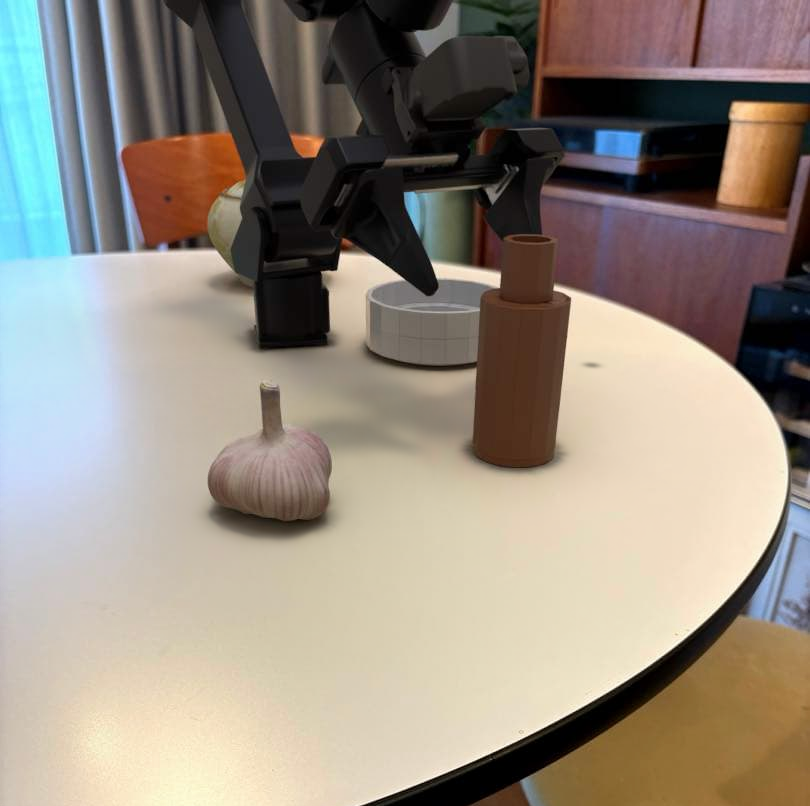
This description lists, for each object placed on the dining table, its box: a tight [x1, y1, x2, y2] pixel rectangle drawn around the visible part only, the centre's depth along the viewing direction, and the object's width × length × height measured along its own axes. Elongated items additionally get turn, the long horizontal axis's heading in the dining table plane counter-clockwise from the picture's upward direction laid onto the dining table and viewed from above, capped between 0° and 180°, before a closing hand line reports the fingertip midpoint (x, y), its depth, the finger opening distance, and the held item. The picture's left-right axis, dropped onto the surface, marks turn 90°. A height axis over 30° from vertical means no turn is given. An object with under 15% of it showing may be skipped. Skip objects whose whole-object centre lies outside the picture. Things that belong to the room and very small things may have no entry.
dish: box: [365, 277, 500, 367], centre depth 76 cm, size 13×13×5 cm
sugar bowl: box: [206, 179, 253, 288], centre depth 97 cm, size 20×15×15 cm
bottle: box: [472, 234, 572, 468], centre depth 54 cm, size 6×6×14 cm
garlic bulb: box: [207, 380, 333, 522], centre depth 48 cm, size 8×7×8 cm
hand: (489, 283), depth 54 cm, fingers open, 9 cm apart
